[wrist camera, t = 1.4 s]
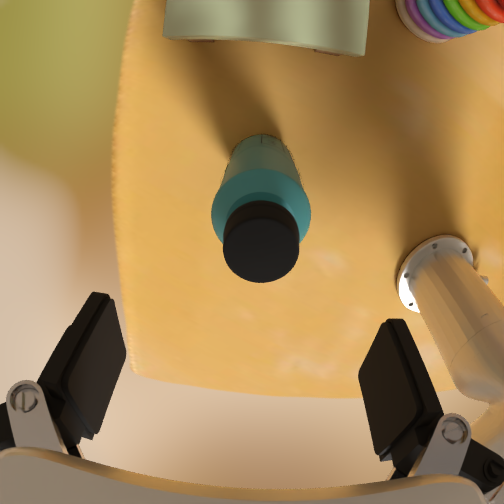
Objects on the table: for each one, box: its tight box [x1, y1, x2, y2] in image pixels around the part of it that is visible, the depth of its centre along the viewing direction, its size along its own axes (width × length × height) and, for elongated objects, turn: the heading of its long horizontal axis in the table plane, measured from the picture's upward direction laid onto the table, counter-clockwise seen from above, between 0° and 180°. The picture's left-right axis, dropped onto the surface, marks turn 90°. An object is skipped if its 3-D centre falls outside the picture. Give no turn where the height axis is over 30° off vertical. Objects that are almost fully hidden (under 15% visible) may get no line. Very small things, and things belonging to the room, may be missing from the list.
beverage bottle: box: [211, 135, 311, 283], centre depth 24 cm, size 6×7×20 cm
